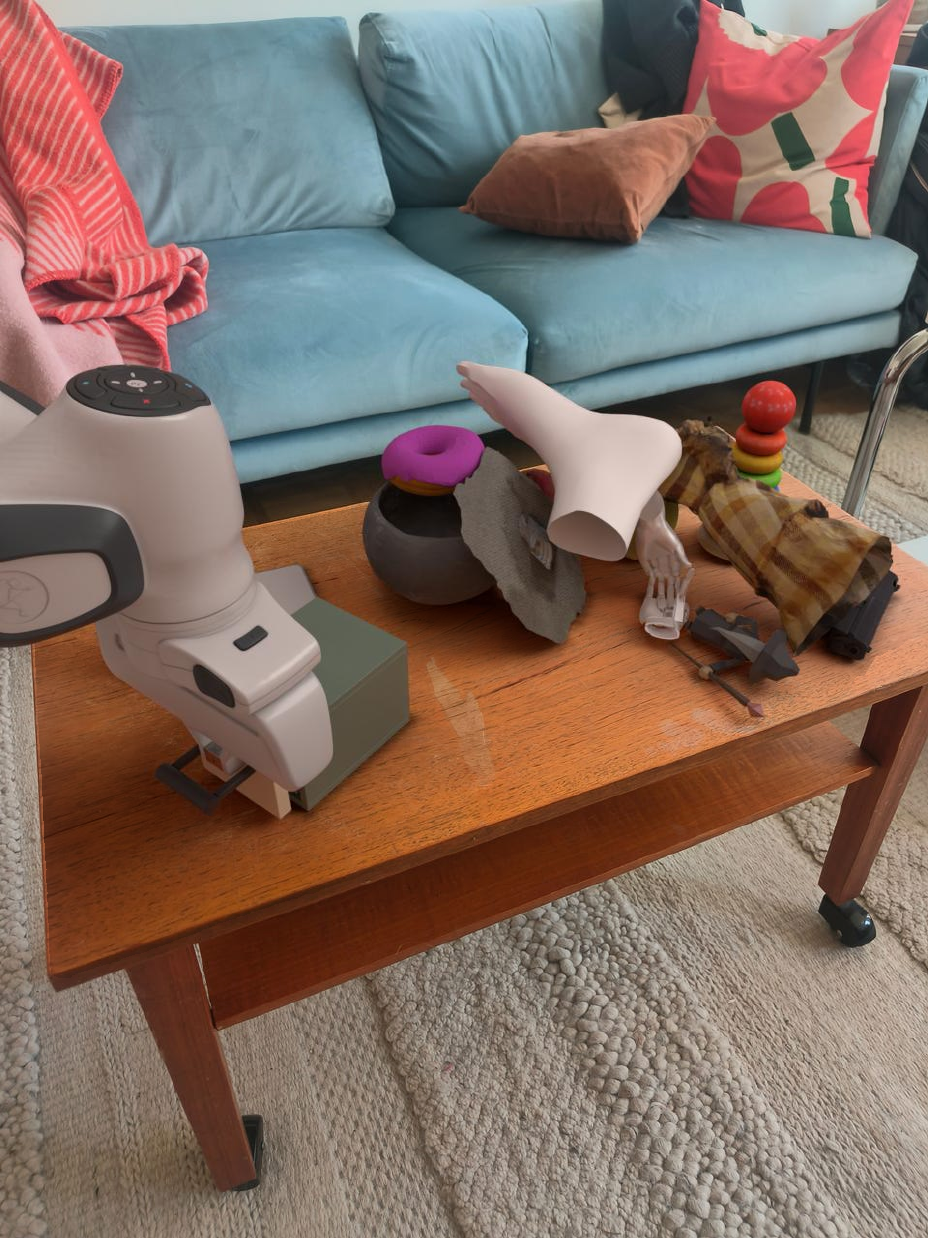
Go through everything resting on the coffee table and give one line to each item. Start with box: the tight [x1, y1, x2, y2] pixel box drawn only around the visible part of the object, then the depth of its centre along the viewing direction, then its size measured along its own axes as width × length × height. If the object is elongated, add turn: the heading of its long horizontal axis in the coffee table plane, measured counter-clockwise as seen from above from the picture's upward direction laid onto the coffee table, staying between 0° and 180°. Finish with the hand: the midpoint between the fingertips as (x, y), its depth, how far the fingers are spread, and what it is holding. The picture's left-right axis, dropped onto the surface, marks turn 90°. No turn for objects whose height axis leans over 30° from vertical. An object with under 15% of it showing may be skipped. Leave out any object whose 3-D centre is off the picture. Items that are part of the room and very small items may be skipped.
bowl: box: [361, 480, 497, 606], centre depth 89 cm, size 15×15×10 cm
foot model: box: [455, 360, 682, 562], centre depth 87 cm, size 8×16×25 cm
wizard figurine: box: [669, 604, 801, 719], centre depth 81 cm, size 8×6×12 cm
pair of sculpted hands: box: [636, 490, 696, 640], centre depth 88 cm, size 15×6×7 cm
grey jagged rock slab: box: [453, 446, 587, 644], centre depth 85 cm, size 20×13×17 cm
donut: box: [381, 424, 486, 496], centre depth 87 cm, size 10×10×5 cm
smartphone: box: [255, 564, 318, 615], centre depth 87 cm, size 8×1×15 cm
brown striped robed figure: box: [657, 419, 894, 658], centre depth 85 cm, size 14×14×25 cm
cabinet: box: [288, 596, 411, 812], centre depth 72 cm, size 12×10×9 cm
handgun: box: [825, 570, 901, 662], centre depth 89 cm, size 3×14×10 cm
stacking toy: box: [697, 380, 797, 562], centre depth 92 cm, size 8×8×19 cm
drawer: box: [154, 743, 300, 820], centre depth 69 cm, size 16×9×7 cm, turn 143°
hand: (224, 762), depth 66 cm, fingers closed, pressing on drawer
